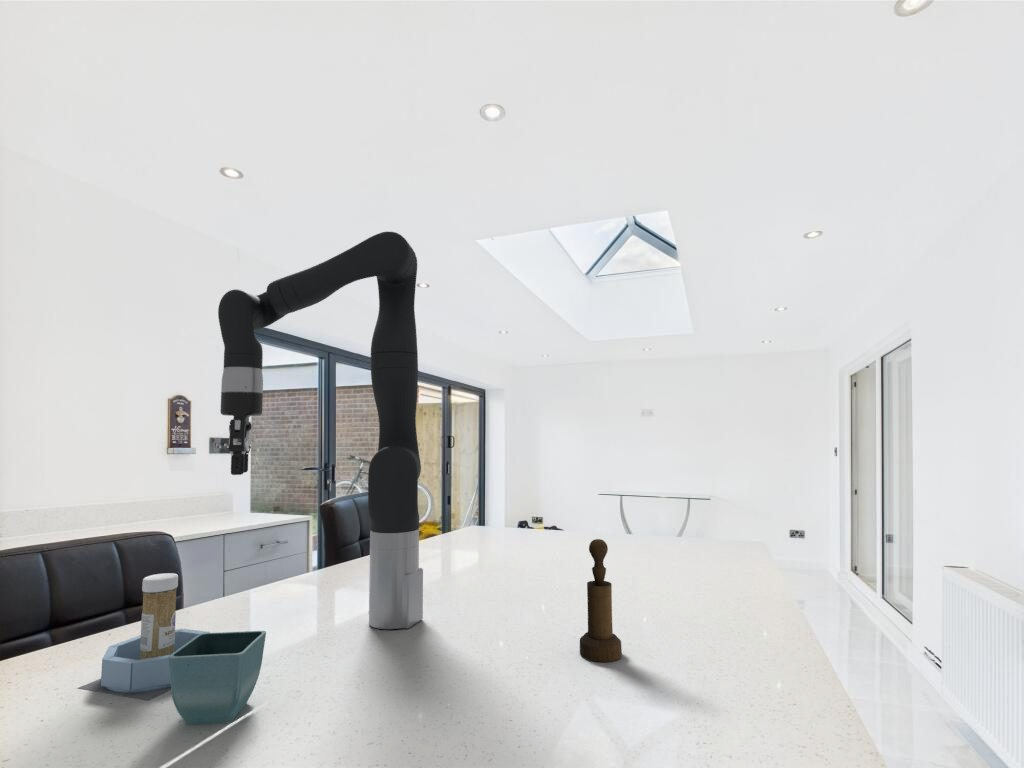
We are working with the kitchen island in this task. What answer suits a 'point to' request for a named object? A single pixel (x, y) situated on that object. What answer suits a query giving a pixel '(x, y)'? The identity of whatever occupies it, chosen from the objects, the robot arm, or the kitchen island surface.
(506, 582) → the kitchen island surface
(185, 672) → the flower pot
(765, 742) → the kitchen island surface
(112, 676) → the bowl
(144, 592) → the sprinkles bottle
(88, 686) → the mat
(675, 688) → the kitchen island surface
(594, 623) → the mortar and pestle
